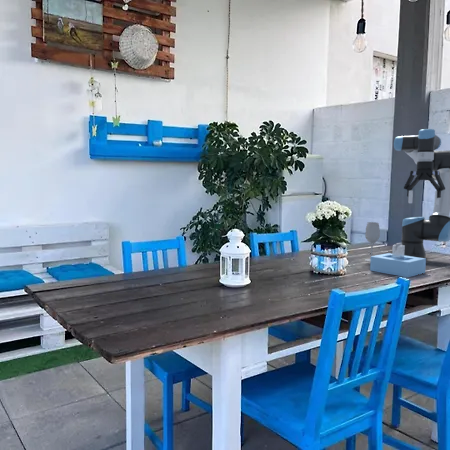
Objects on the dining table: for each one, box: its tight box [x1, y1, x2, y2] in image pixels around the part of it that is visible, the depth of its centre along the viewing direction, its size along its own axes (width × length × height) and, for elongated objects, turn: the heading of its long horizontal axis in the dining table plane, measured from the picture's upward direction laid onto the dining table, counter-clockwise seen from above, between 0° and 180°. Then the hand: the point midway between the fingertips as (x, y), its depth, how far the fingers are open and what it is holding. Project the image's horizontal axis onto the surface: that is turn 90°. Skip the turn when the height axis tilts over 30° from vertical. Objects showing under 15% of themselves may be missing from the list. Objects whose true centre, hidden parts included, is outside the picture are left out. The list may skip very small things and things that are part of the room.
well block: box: [369, 252, 427, 278], centre depth 229 cm, size 16×20×7 cm
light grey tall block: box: [391, 242, 405, 260], centre depth 229 cm, size 4×4×13 cm
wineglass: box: [364, 221, 381, 263], centre depth 258 cm, size 8×8×21 cm
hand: (423, 204), depth 234 cm, fingers open, 13 cm apart
